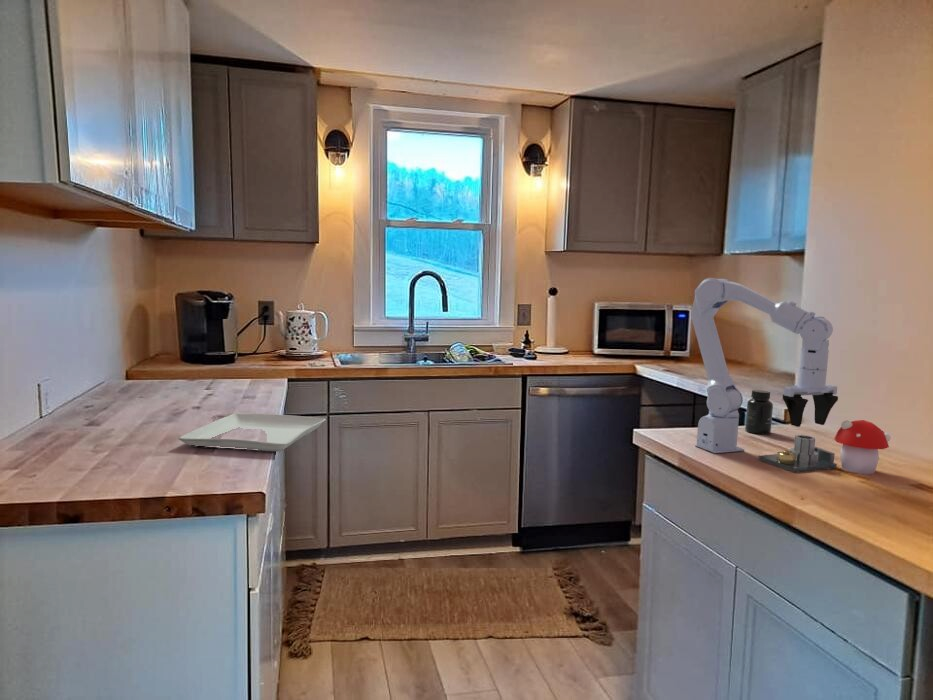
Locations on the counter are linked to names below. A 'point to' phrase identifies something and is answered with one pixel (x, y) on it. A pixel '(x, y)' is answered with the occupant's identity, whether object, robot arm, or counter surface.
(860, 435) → the mushroom
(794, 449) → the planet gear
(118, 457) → the counter surface
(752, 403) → the supplement bottle
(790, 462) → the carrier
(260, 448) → the square plate
